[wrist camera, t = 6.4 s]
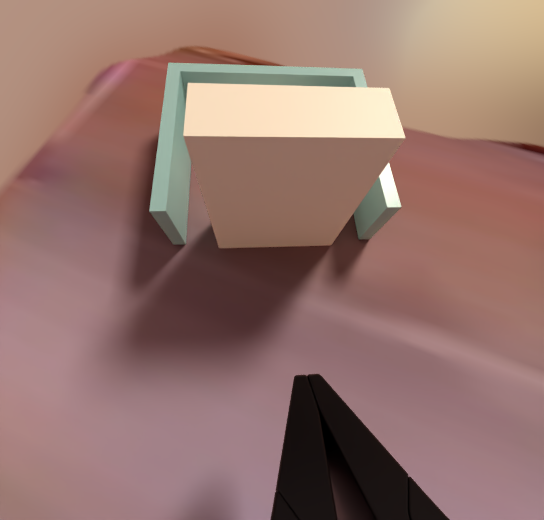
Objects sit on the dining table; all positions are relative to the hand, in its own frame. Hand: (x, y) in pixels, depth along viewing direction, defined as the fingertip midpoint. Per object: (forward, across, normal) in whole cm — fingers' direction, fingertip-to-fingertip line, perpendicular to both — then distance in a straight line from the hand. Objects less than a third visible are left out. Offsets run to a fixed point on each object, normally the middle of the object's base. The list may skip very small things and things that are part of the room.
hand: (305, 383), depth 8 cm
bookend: (+13, 0, -5) cm, 14 cm away
